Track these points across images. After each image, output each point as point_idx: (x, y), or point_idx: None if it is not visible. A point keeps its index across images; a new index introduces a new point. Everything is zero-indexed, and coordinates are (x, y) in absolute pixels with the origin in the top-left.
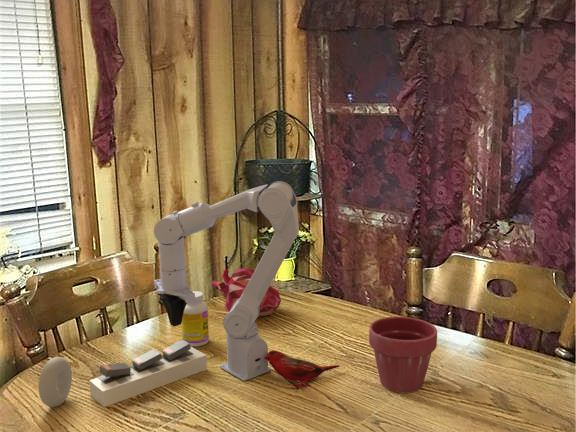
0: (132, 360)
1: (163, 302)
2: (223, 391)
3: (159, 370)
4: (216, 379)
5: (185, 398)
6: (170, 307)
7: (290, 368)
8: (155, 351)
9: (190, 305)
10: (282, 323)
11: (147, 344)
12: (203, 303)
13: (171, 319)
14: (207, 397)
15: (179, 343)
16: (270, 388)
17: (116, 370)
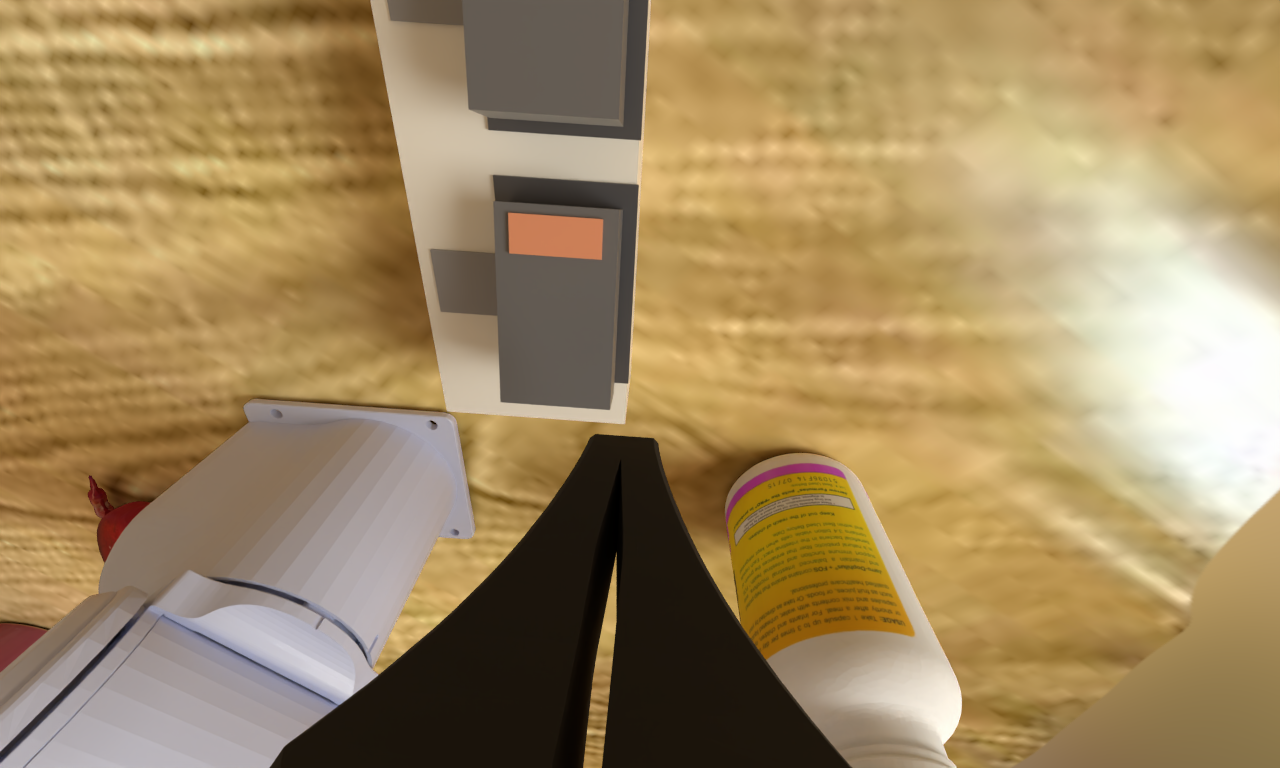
0: None
1: (709, 714)
2: (188, 272)
3: (391, 6)
4: (342, 329)
5: (176, 42)
6: (439, 649)
7: (103, 551)
8: (551, 98)
9: (844, 718)
10: None
11: (1033, 332)
12: None
13: (585, 479)
14: (143, 163)
15: (574, 361)
16: (143, 428)
17: None
